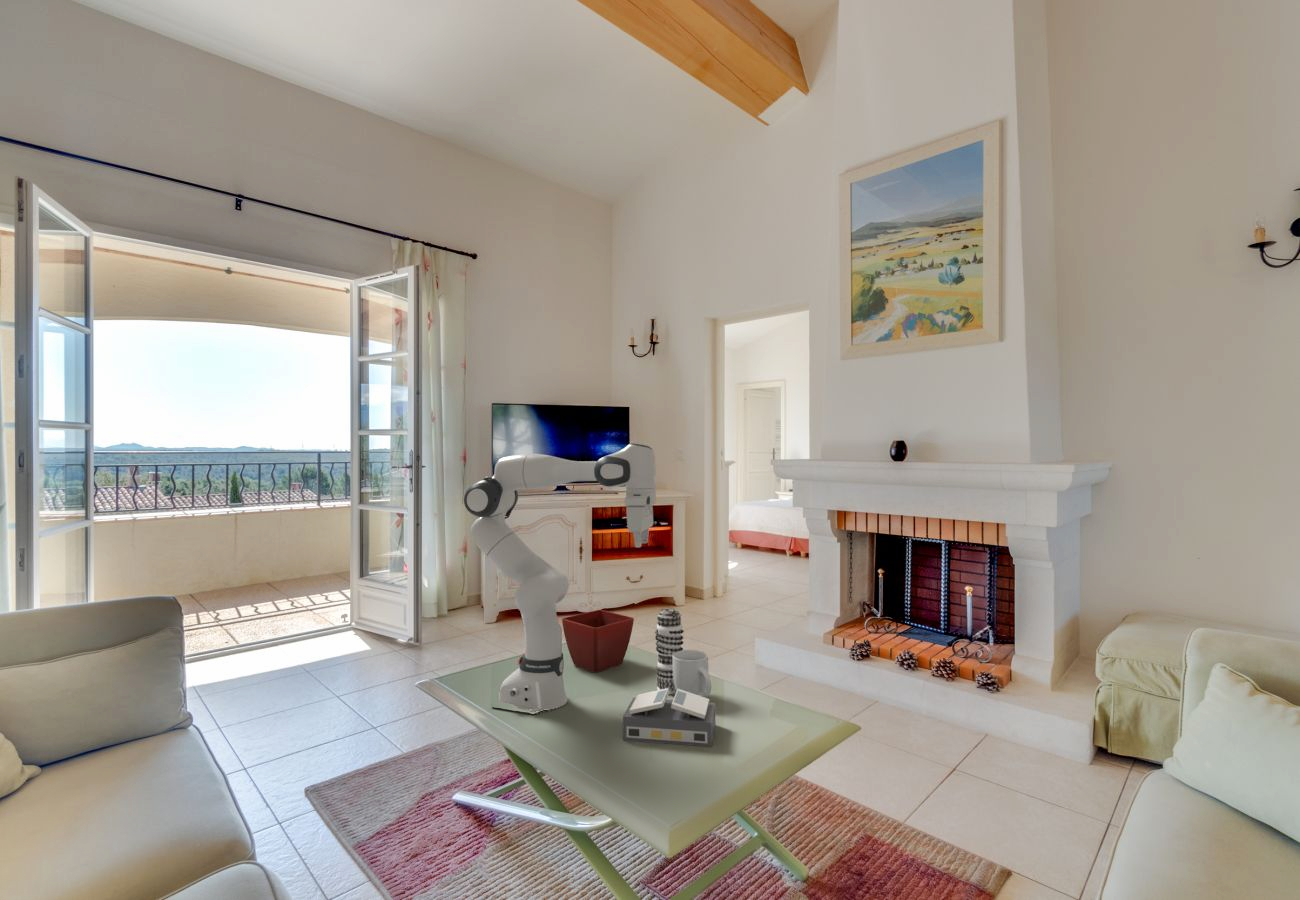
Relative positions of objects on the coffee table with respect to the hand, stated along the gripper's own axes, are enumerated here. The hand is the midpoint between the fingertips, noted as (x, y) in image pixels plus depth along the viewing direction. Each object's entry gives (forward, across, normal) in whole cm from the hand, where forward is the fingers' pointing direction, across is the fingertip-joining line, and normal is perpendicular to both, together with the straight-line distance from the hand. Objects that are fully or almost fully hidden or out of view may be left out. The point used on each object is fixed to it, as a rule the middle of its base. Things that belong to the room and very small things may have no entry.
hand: (641, 545), depth 177 cm
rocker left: (+40, +14, +5) cm, 43 cm away
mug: (+48, -10, +13) cm, 51 cm away
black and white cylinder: (+48, -17, +6) cm, 51 cm away
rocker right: (+40, +14, +16) cm, 45 cm away
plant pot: (+48, -36, -24) cm, 65 cm away
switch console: (+48, +14, +10) cm, 51 cm away
